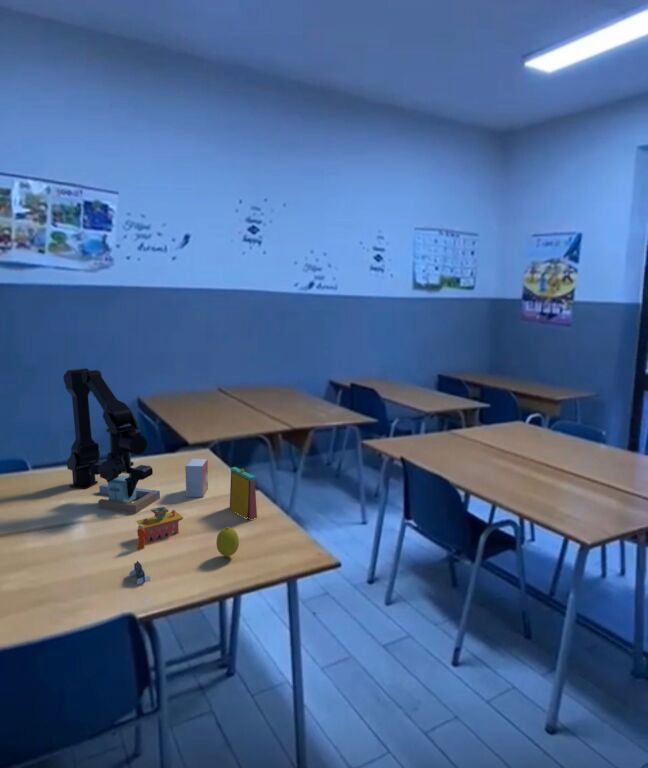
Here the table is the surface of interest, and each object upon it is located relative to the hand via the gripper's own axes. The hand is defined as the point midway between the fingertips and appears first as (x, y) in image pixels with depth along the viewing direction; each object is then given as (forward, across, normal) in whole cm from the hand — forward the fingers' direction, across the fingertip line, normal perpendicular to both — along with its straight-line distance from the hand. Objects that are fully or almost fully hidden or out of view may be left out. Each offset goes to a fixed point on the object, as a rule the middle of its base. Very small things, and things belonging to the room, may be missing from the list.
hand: (122, 496), depth 177 cm
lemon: (+2, +47, -24) cm, 53 cm away
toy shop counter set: (+2, +30, -10) cm, 31 cm away
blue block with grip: (+2, 0, 0) cm, 2 cm away
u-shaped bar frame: (+2, -1, 0) cm, 2 cm away
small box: (+2, +18, +14) cm, 23 cm away
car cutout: (+3, +35, -42) cm, 55 cm away
